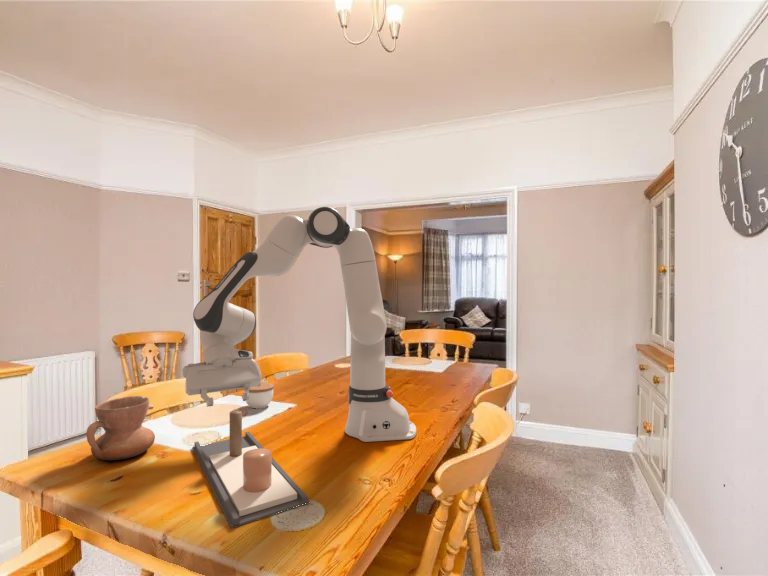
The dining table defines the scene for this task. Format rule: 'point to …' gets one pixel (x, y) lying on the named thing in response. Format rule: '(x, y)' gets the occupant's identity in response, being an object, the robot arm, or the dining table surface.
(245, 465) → the pink pillar candle
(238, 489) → the wooden peg stand
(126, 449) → the ceramic jug
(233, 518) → the grey rimmed tray
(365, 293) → the robot arm
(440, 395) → the dining table surface
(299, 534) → the dining table surface
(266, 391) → the lidded jar
